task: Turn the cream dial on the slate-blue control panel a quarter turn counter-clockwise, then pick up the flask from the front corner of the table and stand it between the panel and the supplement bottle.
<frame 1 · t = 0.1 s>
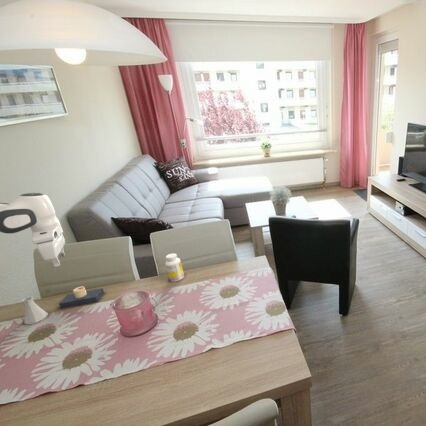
hand: (60, 261, 123), 21 cm above the table, tool pointing down, fingers open, 8 cm apart
dial: (79, 291, 129), point 5 cm above the table, hinge at 0.0°
flask: (37, 319, 121), on the table
supplement bottle: (177, 278, 144), on the table
control panel: (83, 301, 131), on the table
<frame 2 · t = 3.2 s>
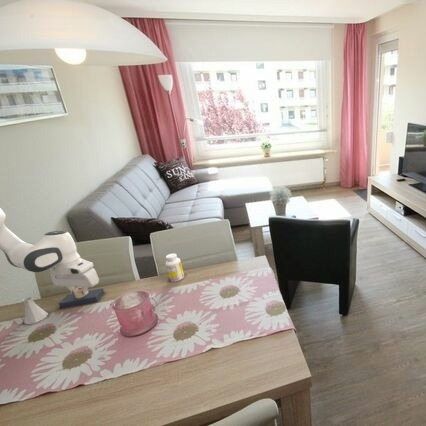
hand: (80, 293, 129), 4 cm above the table, tool pointing down, fingers closed on dial, 4 cm apart
dial: (79, 291, 129), point 5 cm above the table, hinge at 0.0°, touching gripper
everything else where it was.
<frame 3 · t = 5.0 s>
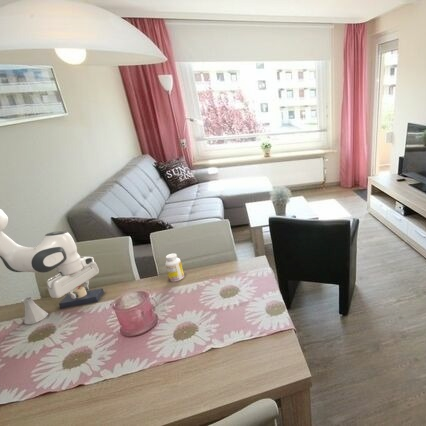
hand: (80, 293, 129), 4 cm above the table, tool pointing down, fingers closed on dial, 4 cm apart
dial: (79, 291, 129), point 5 cm above the table, hinge at 93.9°, touching gripper
everything else where it was.
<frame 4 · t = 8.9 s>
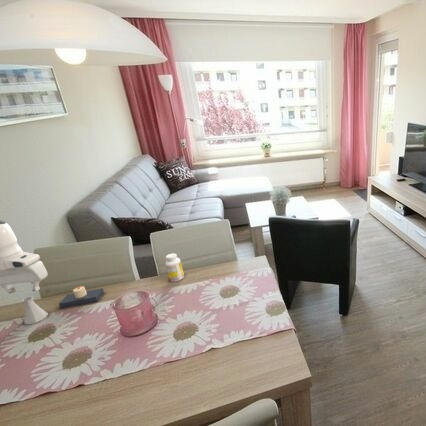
hand: (24, 291, 116), 14 cm above the table, tool pointing down, fingers open, 8 cm apart
dial: (79, 291, 129), point 5 cm above the table, hinge at 93.6°
everything else where it was.
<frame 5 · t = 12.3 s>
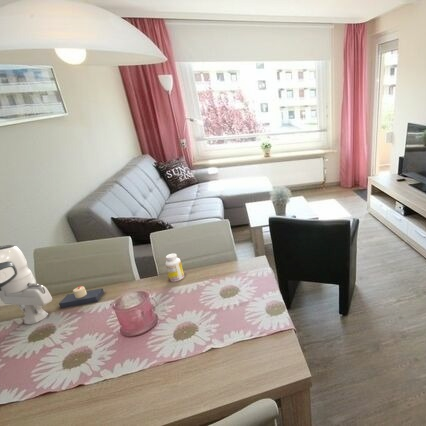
hand: (33, 312, 119), 4 cm above the table, tool pointing down, fingers closed on flask, 5 cm apart
flask: (37, 319, 121), on the table, touching gripper
everything else where it was.
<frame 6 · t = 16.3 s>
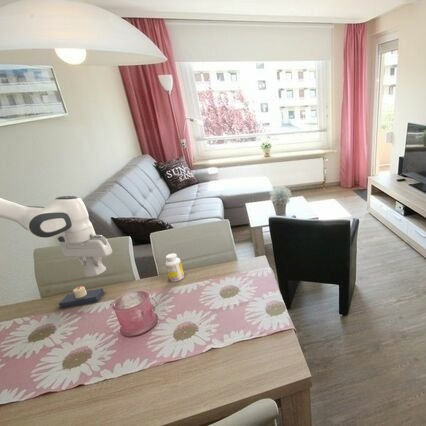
hand: (92, 265, 121), 19 cm above the table, tool pointing down, fingers closed on flask, 5 cm apart
flask: (96, 272, 123), point 15 cm above the table, touching gripper
everything else where it was.
when the fingers open (3 cm above the table, at t = 20.4 s): flask stays where it is, on the table.
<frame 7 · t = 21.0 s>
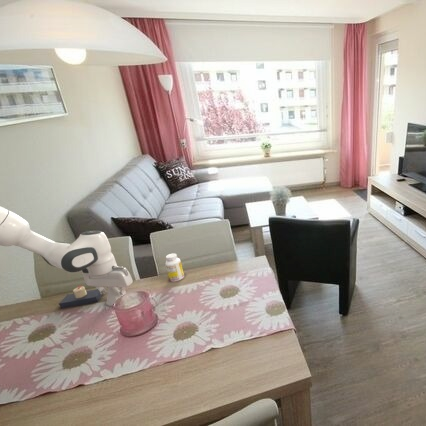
hand: (113, 293, 128), 4 cm above the table, tool pointing down, fingers open, 8 cm apart
flask: (116, 301, 129), on the table
everything else where it was.
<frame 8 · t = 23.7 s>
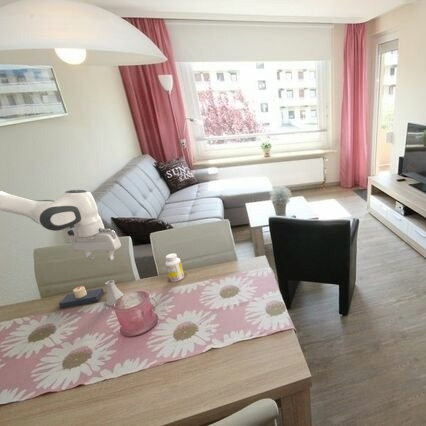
hand: (101, 259, 122), 21 cm above the table, tool pointing down, fingers open, 8 cm apart
nothing on the table moved.
at the end: dial at +94° (first picture: +0°); flask inside the target area on the table beside the supplement bottle (0.1 cm from its centre), on the table; flask tilted 0° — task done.
